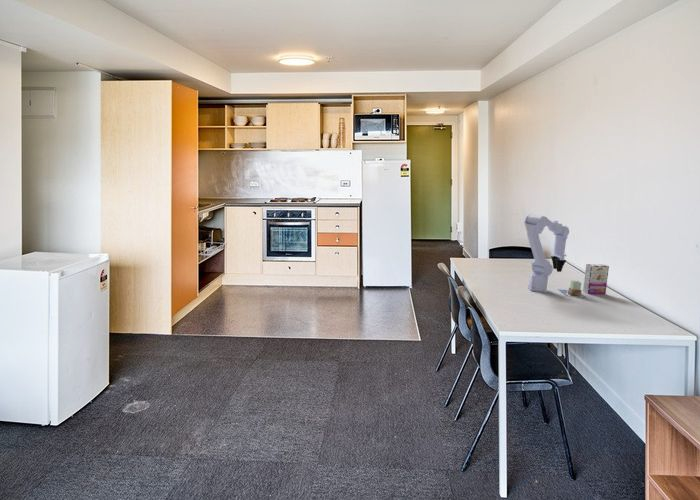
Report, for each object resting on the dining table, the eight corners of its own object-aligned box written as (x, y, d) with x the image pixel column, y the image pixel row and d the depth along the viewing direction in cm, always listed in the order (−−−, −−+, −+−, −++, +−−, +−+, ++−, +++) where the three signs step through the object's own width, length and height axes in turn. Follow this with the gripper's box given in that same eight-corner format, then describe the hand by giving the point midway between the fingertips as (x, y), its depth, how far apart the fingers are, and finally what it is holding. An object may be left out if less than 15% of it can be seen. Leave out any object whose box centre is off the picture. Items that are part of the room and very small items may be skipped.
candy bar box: (599, 292, 285) (603, 264, 282) (605, 294, 280) (609, 265, 278) (581, 292, 283) (585, 263, 280) (587, 294, 278) (591, 265, 275)
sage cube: (572, 289, 271) (573, 282, 270) (570, 287, 275) (571, 280, 274) (580, 290, 270) (581, 282, 270) (577, 288, 274) (578, 281, 274)
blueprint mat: (565, 296, 270) (566, 296, 270) (557, 289, 286) (557, 289, 285) (587, 298, 269) (587, 297, 269) (577, 291, 284) (577, 290, 284)
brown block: (570, 295, 271) (571, 289, 270) (568, 293, 276) (568, 287, 275) (580, 296, 270) (581, 290, 270) (577, 294, 275) (578, 288, 275)
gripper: (570, 249, 278) (568, 273, 281) (563, 244, 292) (560, 267, 295) (557, 248, 279) (554, 272, 282) (550, 244, 293) (548, 267, 296)
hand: (557, 270), depth 288 cm, fingers open, 7 cm apart
